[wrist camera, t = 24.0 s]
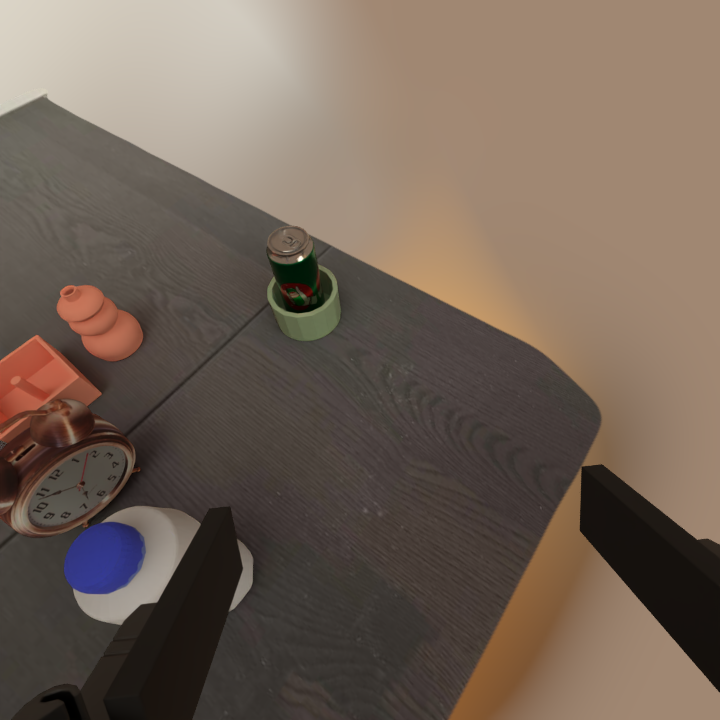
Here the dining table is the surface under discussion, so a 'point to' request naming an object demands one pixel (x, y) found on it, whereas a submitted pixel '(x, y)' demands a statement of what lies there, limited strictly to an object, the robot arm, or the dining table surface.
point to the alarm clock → (61, 468)
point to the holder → (309, 322)
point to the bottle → (134, 561)
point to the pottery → (52, 369)
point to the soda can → (295, 269)
